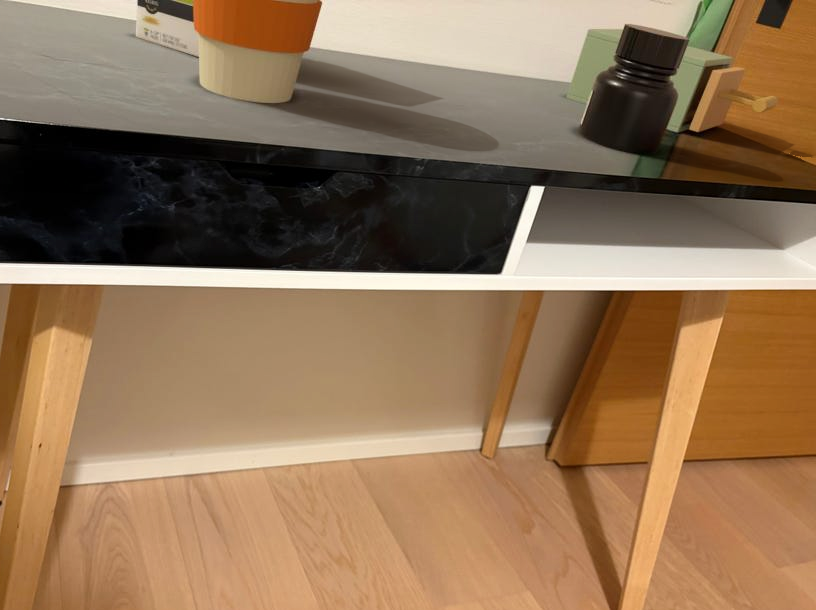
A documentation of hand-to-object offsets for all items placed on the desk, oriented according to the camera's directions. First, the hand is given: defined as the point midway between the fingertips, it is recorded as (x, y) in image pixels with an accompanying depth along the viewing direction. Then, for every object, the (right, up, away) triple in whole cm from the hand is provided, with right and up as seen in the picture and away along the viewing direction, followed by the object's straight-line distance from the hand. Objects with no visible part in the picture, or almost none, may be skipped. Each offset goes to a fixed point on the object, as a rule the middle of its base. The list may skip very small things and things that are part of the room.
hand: (768, 25), depth 98 cm
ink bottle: (-21, -17, -8) cm, 28 cm away
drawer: (-7, -9, +9) cm, 14 cm away
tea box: (-67, -6, -6) cm, 68 cm away
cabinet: (-11, -7, +12) cm, 18 cm away
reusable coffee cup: (-62, -15, -19) cm, 66 cm away
